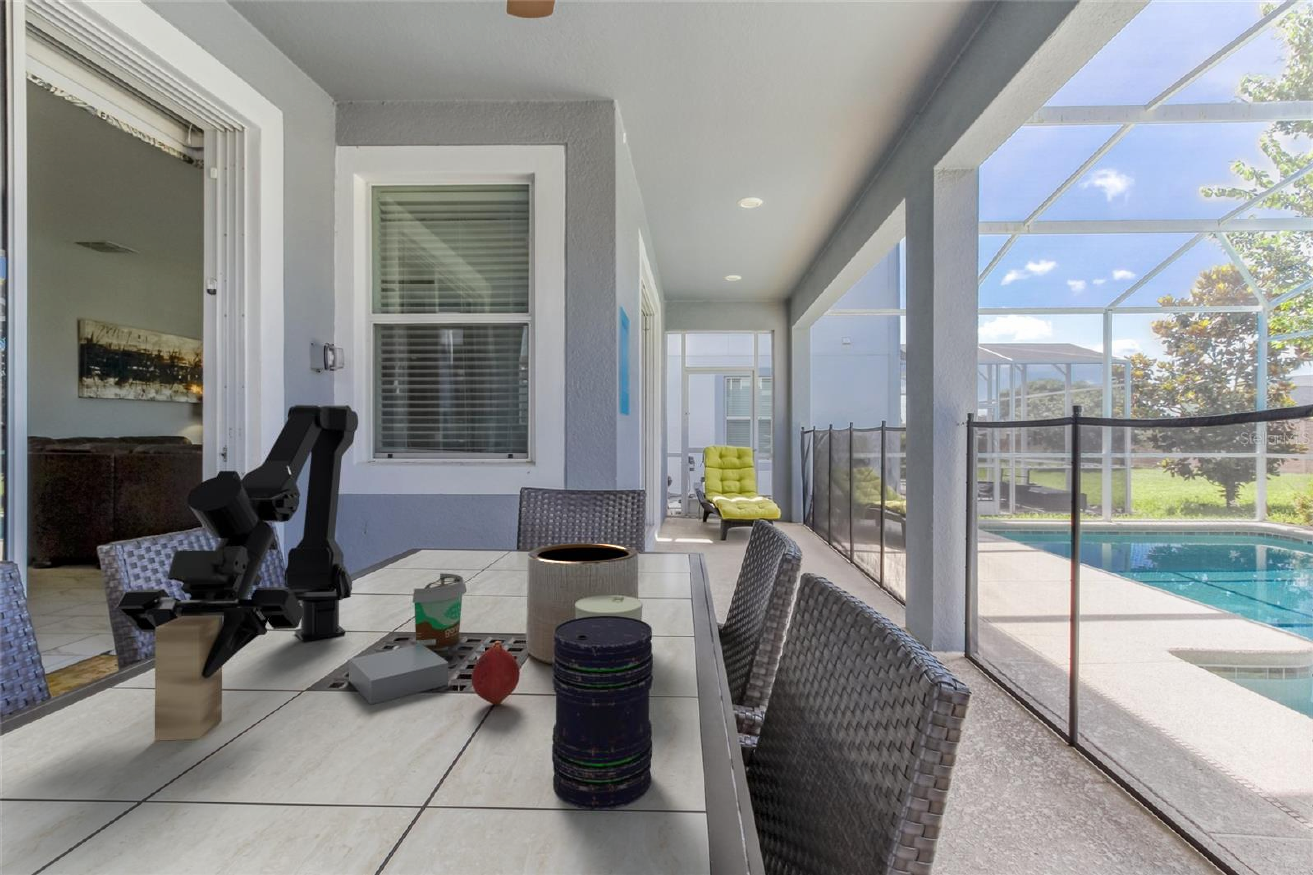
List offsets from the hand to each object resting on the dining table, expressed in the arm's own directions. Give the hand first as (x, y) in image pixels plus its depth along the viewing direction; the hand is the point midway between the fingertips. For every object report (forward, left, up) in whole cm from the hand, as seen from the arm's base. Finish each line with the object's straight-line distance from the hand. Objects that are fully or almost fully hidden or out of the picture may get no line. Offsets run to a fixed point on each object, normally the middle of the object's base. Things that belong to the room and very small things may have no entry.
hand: (181, 677), depth 71 cm
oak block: (-1, +1, -7) cm, 7 cm away
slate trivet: (0, +24, -7) cm, 25 cm away
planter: (+5, +51, -7) cm, 52 cm away
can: (+20, +45, -7) cm, 49 cm away
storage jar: (+38, +31, -7) cm, 49 cm away
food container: (-13, +36, -7) cm, 39 cm away
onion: (+15, +31, -7) cm, 35 cm away
